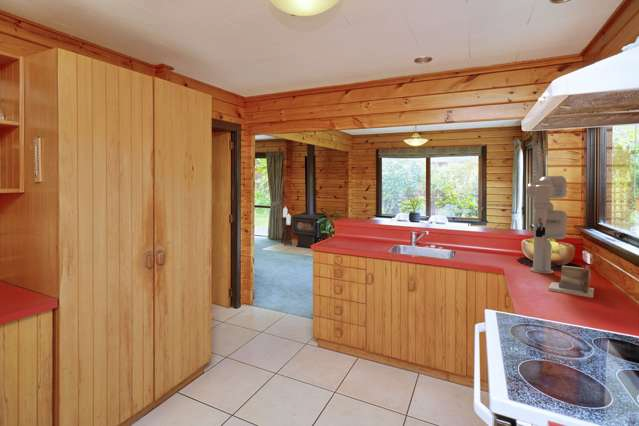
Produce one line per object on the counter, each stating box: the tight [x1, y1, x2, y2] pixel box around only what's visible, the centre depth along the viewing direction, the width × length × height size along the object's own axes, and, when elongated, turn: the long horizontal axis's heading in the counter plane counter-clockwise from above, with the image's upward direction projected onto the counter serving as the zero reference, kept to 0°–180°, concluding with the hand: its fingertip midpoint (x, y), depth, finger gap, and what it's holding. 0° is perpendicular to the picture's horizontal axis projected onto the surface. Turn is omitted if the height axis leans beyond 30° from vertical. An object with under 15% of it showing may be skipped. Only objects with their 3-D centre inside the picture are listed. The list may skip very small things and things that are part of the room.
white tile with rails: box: [548, 279, 595, 298], centre depth 172 cm, size 14×18×4 cm
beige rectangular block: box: [560, 265, 585, 285], centre depth 171 cm, size 3×9×11 cm, turn 48°
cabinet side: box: [580, 264, 591, 293], centre depth 168 cm, size 12×3×12 cm, turn 138°
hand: (540, 236), depth 189 cm, fingers open, 9 cm apart
